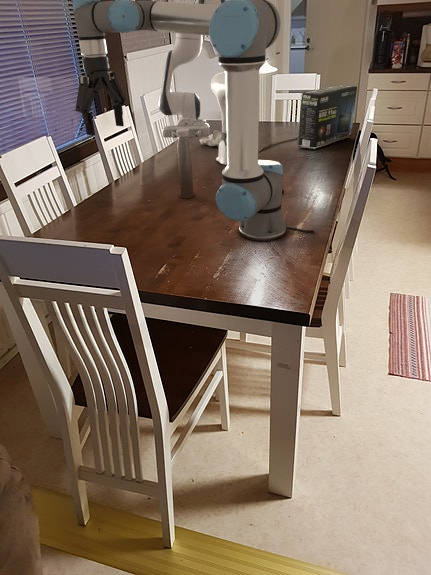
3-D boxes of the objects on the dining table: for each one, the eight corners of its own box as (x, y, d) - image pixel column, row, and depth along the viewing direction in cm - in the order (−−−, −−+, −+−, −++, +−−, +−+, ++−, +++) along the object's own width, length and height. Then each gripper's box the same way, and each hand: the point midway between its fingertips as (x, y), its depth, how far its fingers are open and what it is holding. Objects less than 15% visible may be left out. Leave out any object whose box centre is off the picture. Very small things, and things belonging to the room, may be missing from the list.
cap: (190, 133, 171) (190, 128, 170) (187, 136, 167) (187, 131, 166) (178, 133, 172) (178, 128, 171) (175, 136, 168) (174, 131, 167)
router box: (314, 151, 231) (318, 94, 217) (296, 148, 237) (299, 92, 224) (352, 138, 251) (358, 85, 238) (335, 135, 258) (340, 83, 245)
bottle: (194, 194, 183) (190, 129, 171) (191, 198, 179) (187, 132, 166) (182, 193, 184) (177, 129, 171) (179, 198, 180) (174, 132, 167)
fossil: (223, 141, 238) (204, 123, 241) (212, 159, 245) (194, 141, 248) (240, 140, 252) (222, 123, 255) (230, 156, 258) (212, 139, 262)
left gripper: (162, 121, 201) (160, 128, 189) (209, 119, 201) (209, 126, 189) (163, 136, 204) (161, 144, 193) (209, 134, 205) (210, 142, 193)
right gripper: (113, 52, 146) (122, 121, 157) (53, 59, 128) (68, 137, 139) (131, 52, 143) (139, 123, 153) (73, 60, 124) (87, 140, 135)
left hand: (185, 135), depth 191 cm, fingers open, 8 cm apart
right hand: (106, 130), depth 146 cm, fingers open, 13 cm apart
